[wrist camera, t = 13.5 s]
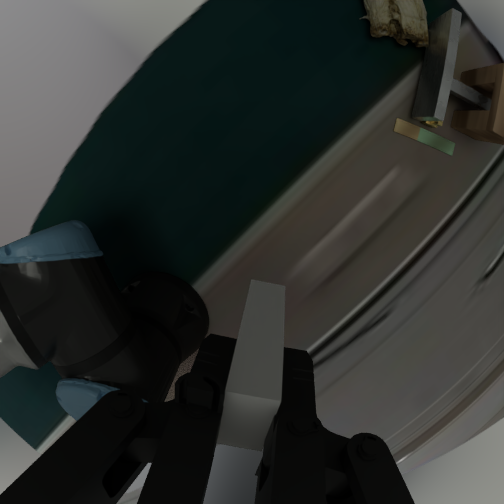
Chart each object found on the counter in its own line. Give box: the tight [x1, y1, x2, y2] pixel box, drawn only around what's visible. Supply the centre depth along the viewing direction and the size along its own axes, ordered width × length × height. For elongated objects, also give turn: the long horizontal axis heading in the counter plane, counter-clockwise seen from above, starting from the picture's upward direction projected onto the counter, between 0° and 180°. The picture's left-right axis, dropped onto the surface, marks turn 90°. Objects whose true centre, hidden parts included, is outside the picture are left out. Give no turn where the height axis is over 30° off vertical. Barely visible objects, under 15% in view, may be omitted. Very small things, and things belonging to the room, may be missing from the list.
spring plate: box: [411, 8, 492, 121], centre depth 26 cm, size 10×14×7 cm
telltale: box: [421, 121, 443, 128], centre depth 31 cm, size 2×1×4 cm, turn 77°
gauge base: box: [393, 63, 504, 156], centre depth 27 cm, size 12×12×10 cm
